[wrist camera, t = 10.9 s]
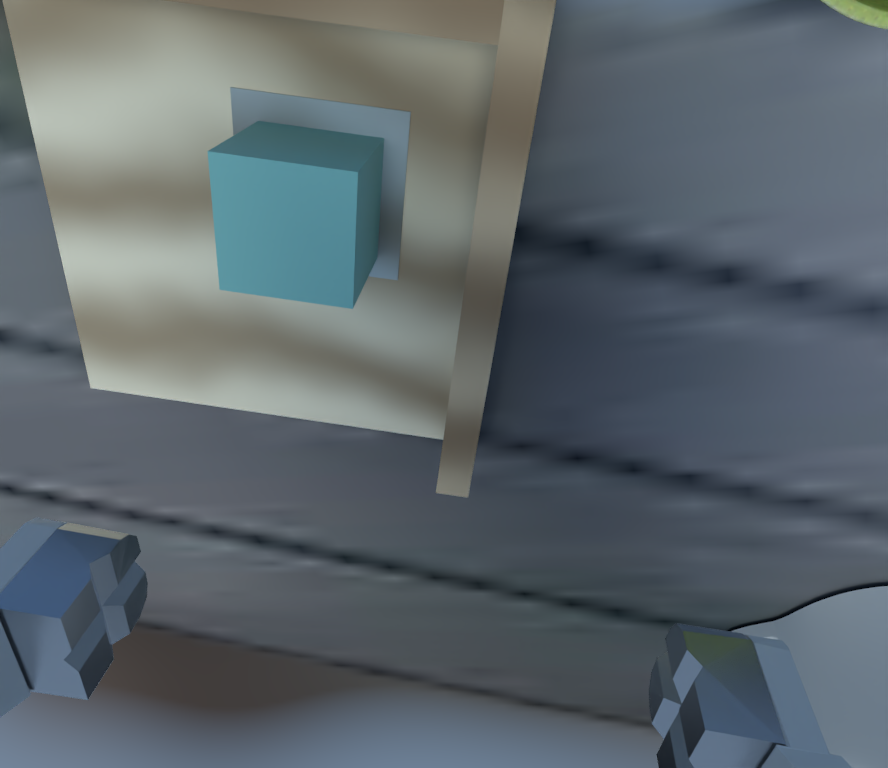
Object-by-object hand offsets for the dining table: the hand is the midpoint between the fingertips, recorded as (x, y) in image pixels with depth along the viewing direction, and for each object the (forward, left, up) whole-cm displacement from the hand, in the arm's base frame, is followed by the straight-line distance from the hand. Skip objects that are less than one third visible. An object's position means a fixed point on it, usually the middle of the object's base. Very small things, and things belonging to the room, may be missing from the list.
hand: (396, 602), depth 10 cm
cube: (0, +6, -20) cm, 21 cm away
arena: (-2, +8, -21) cm, 23 cm away
